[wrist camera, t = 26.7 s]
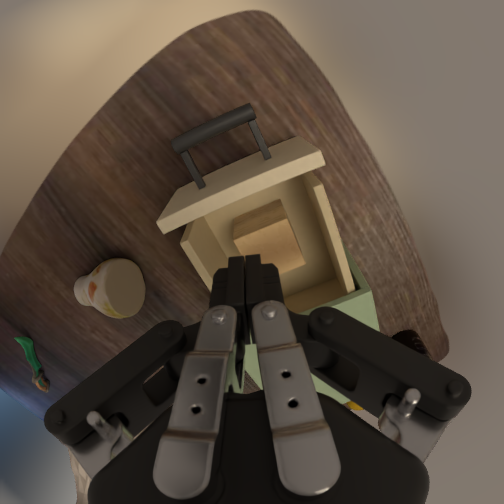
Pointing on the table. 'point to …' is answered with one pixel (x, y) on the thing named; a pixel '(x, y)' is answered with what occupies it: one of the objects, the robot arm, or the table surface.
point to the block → (268, 236)
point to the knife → (33, 363)
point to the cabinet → (351, 304)
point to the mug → (113, 288)
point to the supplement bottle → (412, 342)
